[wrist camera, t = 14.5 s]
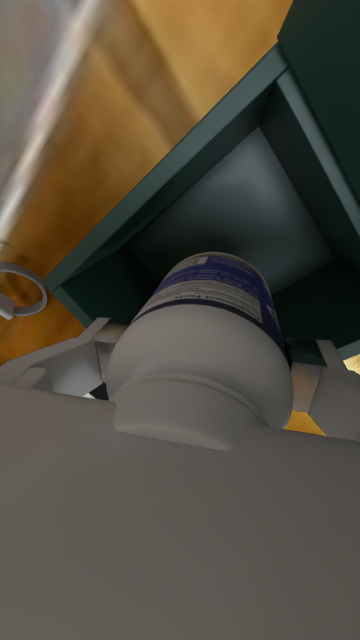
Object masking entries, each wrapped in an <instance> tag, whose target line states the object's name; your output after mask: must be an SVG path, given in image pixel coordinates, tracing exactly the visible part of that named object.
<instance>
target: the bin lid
mask: <svg viewBox="0 0 360 640" xmlns="http://www.w3.org/2000/svg"><path fill="white" fill-rule="evenodd" d="M277 39H278V41H279V43H280V45H281V47H282V49H283V51H284V53H285V55H286V57H287V59H288V61H289V63H290V65H291V66H292V68H293V70H294V72H295V74H296V76H297V78H298V80H299V82H300V84H301V86H302V88H303V90H304V92H305V94H306V96H307V98H308V100H309V102H310V104H311V106H312V108H313V110H314V111H315V113H316V115H317V117H318V119H319V121H320V123H321V125H322V127H323V129H324V131H325V133H326V135H327V137H328V139H329V141H330V143H331V145H332V147H333V149H334V151H335V153H336V155H337V157H338V158H339V160H340V162H341V164H342V166H343V168H344V170H345V172H346V174H347V176H348V178H349V180H350V182H351V184H352V186H353V188H354V190H355V192H356V194H357V196H358V198H359V200H360V0H293V2H292V5H291V7H290V9H289V11H288V14H287V16H286V18H285V20H284V22H283V25H282V27H281V29H280V31H279V33H278V36H277Z"/></svg>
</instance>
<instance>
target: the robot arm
mask: <svg viewBox="0 0 360 640" xmlns="http://www.w3.org/2000/svg"><path fill="white" fill-rule="evenodd" d="M131 322H132V321H127V320H119V319H111V318H97V319H96V320H95V321H94V322H93V323H92V324H91V325H90V326H89V327H88V328H87V329H86V330H85V331H84V332H83V333H82V334H80V335H79V336H78V337H77V338H71V339H68V340H65V341H62V342H60V343H57V344H54V345H51V346H48V347H46V348H43V349H40V350H37V351H35V352H32V353H29V354H26V355H24V356H21V357H18V358H15V359H13V360H10V361H7V362H6V363H4V364H3V365H2V366H1V367H0V640H360V375H359V374H357V373H356V372H354V371H351V370H348V369H347V368H346V366H345V364H344V362H343V360H342V359H341V357H340V355H339V353H338V351H337V349H336V348H335V346H334V344H333V342H332V341H330V340H316V339H304V338H291V337H283V338H282V340H283V344H284V348H285V352H286V355H287V359H288V363H289V367H290V372H291V377H292V383H293V390H294V399H293V407H292V410H295V411H301V412H306V413H308V415H309V416H310V417H311V418H312V419H313V420H314V421H315V423H316V424H317V425H318V426H319V427H320V428H321V429H322V431H323V432H324V433H325V434H326V435H327V436H323V435H317V434H311V433H304V432H298V431H292V430H286V429H279V428H273V427H267V426H261V425H255V424H247V425H245V426H244V428H243V430H242V432H241V434H240V436H239V438H238V439H237V441H236V443H235V444H234V446H233V448H232V449H231V450H227V451H225V450H215V449H209V448H204V447H199V446H193V445H188V444H182V443H177V442H171V441H166V440H161V439H155V438H150V437H144V436H139V435H133V434H128V433H124V432H120V431H116V430H115V428H114V417H115V411H116V407H117V404H116V403H115V402H112V401H106V400H100V399H93V398H87V397H83V396H84V395H86V394H87V393H89V392H90V391H92V390H93V389H95V388H96V387H98V386H99V385H101V384H102V382H104V383H106V373H107V367H108V363H109V359H110V356H111V354H112V352H113V350H114V347H115V345H116V344H117V342H118V340H119V339H120V337H121V336H122V334H123V333H124V331H125V330H126V328H127V327H128V326H129V325H130V323H131Z"/></svg>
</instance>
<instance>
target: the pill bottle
mask: <svg viewBox="0 0 360 640" xmlns="http://www.w3.org/2000/svg"><path fill="white" fill-rule="evenodd" d="M106 386H107V393H108V398H109V400H108V401H112V402H115V403H116V404H117V407H116V411H115V417H114V428H115V430H116V431H120V432H124V433H128V434H133V435H139V436H144V437H150V438H155V439H161V440H166V441H171V442H177V443H182V444H188V445H193V446H199V447H204V448H209V449H215V450H225V451H227V450H231V449H232V448H233V446H234V444H235V443H236V441H237V439H238V438H239V436H240V434H241V432H242V430H243V428H244V426H245V425H247V424H255V425H261V426H267V427H273V428H279V429H285V427H286V425H287V423H288V421H289V419H290V415H291V412H292V407H293V399H294V390H293V383H292V377H291V372H290V367H289V363H288V359H287V355H286V352H285V348H284V344H283V340H282V336H281V331H280V328H279V324H278V320H277V316H276V312H275V309H274V305H273V300H272V297H271V293H270V290H269V287H268V285H267V283H266V281H265V280H264V278H263V276H262V275H261V274H260V273H259V272H258V271H257V269H255V268H254V267H253V266H252V265H251V264H250V263H248V262H247V261H245V260H243V259H241V258H239V257H237V256H234V255H231V254H227V253H222V252H206V253H200V254H197V255H193V256H191V257H189V258H187V259H185V260H183V261H181V262H180V263H178V264H177V265H176V266H175V267H174V268H173V269H172V270H171V271H170V272H169V273H168V274H167V276H166V277H165V278H164V280H163V281H162V282H161V284H160V285H159V287H158V288H157V289H156V291H155V292H154V293H153V295H152V296H151V297H150V299H149V300H148V302H147V303H146V304H145V306H144V307H143V308H142V309H141V311H140V312H139V313H138V314H137V316H136V317H135V318H134V319H133V321H132V322H131V323H130V325H129V326H128V327H127V328H126V330H125V331H124V333H123V334H122V336H121V337H120V339H119V340H118V342H117V344H116V345H115V347H114V350H113V352H112V354H111V356H110V359H109V363H108V367H107V373H106Z"/></svg>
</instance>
